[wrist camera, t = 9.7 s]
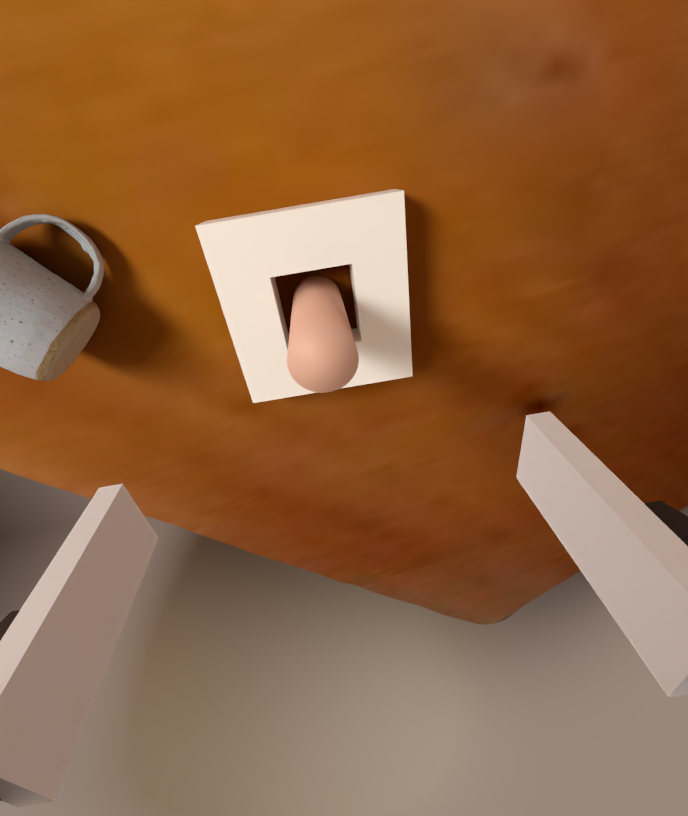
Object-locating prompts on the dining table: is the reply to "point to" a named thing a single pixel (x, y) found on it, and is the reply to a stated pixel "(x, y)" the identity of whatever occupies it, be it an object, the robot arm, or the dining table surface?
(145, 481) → the dining table surface
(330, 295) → the peg
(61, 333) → the ceramic mug
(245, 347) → the socket block
